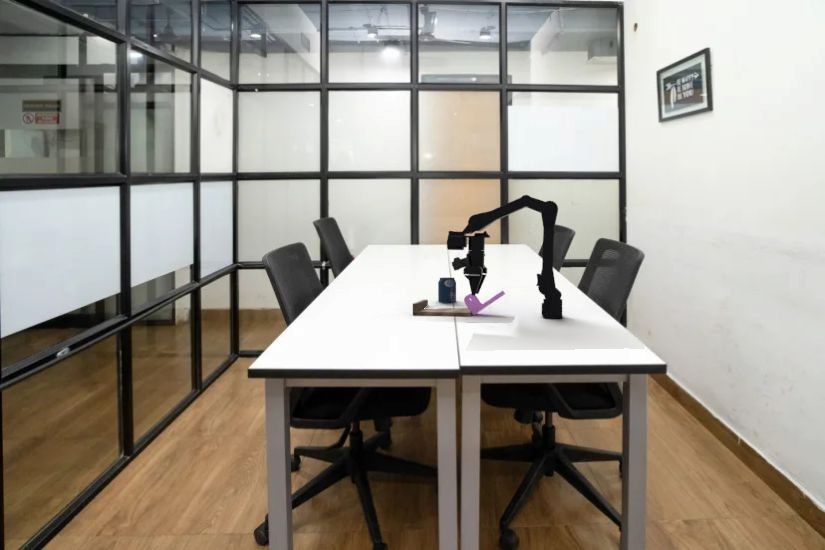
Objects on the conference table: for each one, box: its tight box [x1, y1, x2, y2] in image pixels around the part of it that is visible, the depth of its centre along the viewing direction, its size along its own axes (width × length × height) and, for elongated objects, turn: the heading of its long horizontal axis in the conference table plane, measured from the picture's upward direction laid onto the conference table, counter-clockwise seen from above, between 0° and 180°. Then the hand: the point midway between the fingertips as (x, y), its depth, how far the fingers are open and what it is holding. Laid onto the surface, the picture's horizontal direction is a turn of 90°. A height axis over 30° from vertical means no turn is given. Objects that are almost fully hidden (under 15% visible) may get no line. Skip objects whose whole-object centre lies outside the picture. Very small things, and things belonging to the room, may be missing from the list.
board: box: [412, 299, 473, 317], centre depth 209 cm, size 20×18×4 cm
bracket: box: [463, 290, 506, 316], centre depth 202 cm, size 13×6×7 cm
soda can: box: [437, 277, 457, 304], centre depth 225 cm, size 7×7×12 cm
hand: (475, 294), depth 206 cm, fingers open, 9 cm apart
